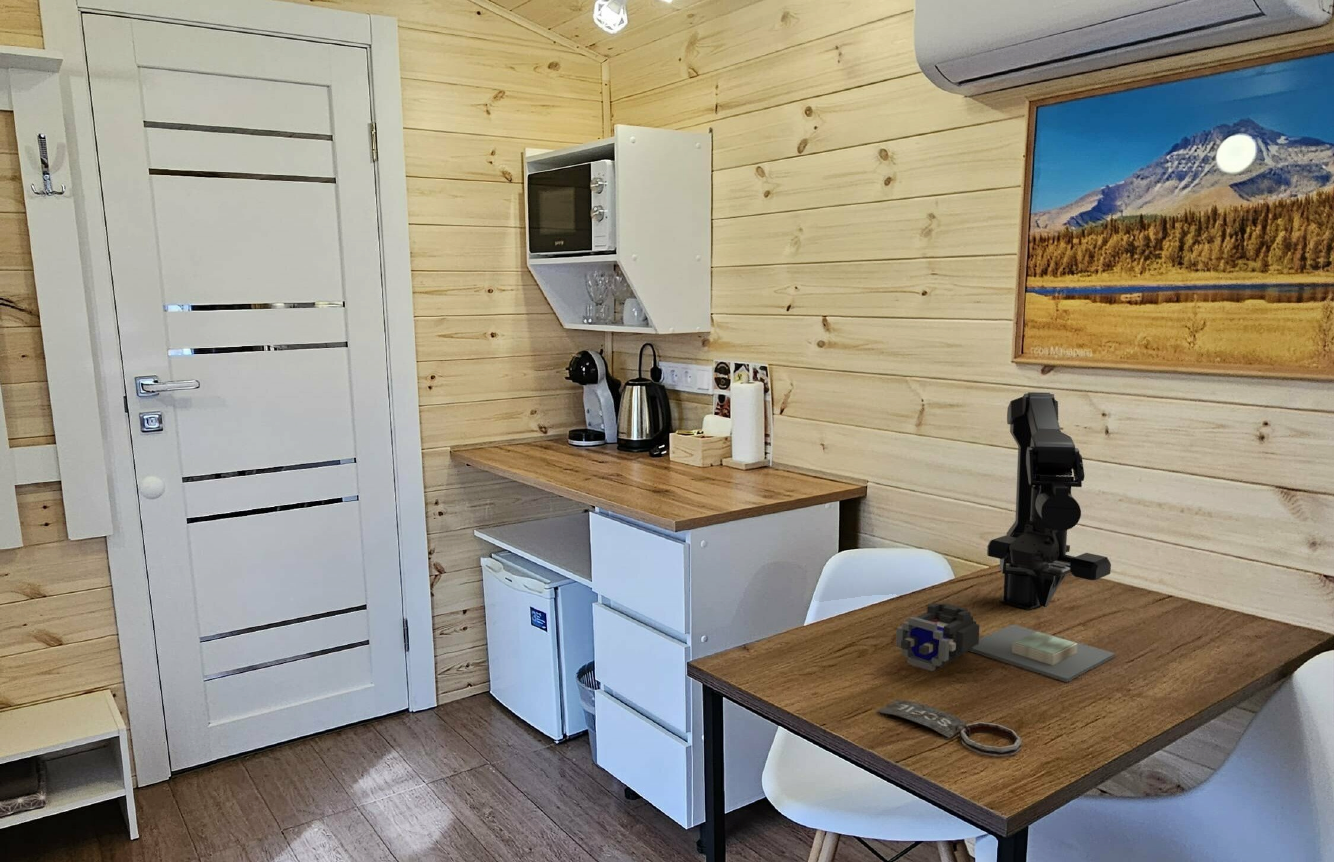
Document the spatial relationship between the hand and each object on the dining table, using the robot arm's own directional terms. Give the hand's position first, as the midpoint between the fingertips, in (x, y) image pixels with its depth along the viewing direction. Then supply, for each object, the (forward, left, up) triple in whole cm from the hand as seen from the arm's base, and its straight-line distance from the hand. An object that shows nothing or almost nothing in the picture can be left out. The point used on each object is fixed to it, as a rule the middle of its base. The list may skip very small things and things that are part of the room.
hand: (1044, 606), depth 148 cm
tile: (-1, -3, -6) cm, 7 cm away
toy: (-7, -19, -8) cm, 22 cm away
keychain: (+7, -37, -8) cm, 39 cm away
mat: (+1, -2, -7) cm, 8 cm away
